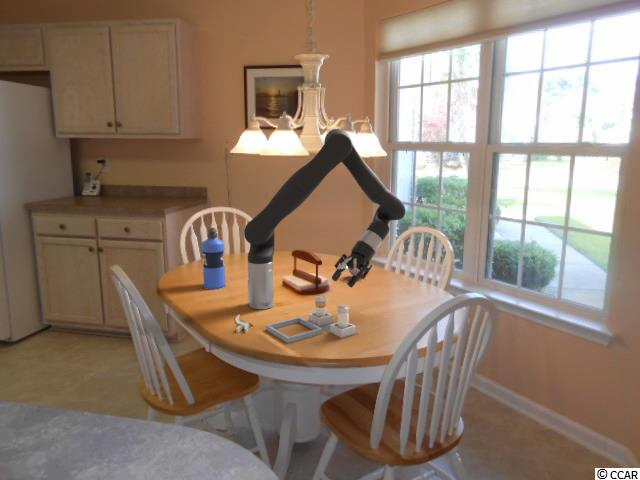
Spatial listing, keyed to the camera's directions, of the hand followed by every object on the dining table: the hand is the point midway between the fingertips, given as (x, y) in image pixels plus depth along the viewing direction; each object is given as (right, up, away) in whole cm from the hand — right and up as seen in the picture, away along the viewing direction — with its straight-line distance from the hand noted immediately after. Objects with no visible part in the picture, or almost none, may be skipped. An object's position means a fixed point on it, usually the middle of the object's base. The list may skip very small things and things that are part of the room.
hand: (341, 283), depth 166 cm
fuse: (0, -15, -12) cm, 19 cm away
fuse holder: (-4, -15, -7) cm, 17 cm away
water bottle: (-52, -5, +39) cm, 65 cm away
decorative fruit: (+9, -3, +52) cm, 53 cm away
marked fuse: (-7, -13, -3) cm, 15 cm away
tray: (-16, -15, -11) cm, 25 cm away
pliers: (-32, -14, -2) cm, 35 cm away
